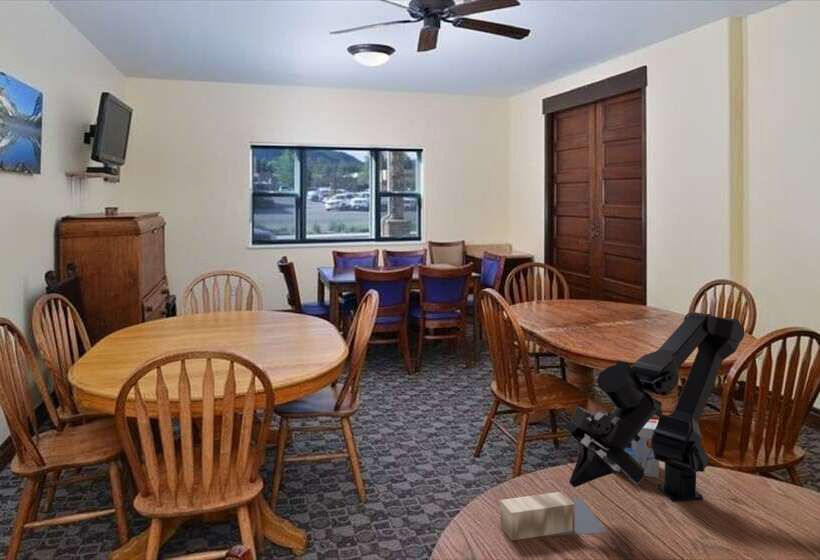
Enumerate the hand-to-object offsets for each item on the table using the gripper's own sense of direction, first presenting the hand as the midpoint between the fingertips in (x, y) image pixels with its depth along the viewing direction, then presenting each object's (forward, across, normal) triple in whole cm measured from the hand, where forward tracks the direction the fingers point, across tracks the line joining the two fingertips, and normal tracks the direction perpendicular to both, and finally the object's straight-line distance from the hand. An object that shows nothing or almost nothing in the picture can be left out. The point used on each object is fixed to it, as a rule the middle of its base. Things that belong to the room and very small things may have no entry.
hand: (571, 485), depth 108 cm
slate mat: (+7, -3, +4) cm, 9 cm away
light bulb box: (-12, -19, +24) cm, 33 cm away
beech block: (+4, 0, +3) cm, 5 cm away
